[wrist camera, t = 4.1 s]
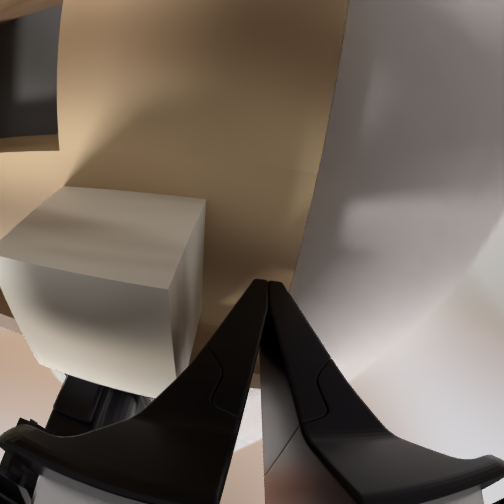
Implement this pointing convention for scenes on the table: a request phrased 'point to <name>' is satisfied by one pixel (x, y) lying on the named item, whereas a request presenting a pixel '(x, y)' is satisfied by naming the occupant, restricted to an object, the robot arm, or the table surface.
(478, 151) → the table surface
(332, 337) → the table surface
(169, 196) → the block
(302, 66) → the box
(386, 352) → the table surface
